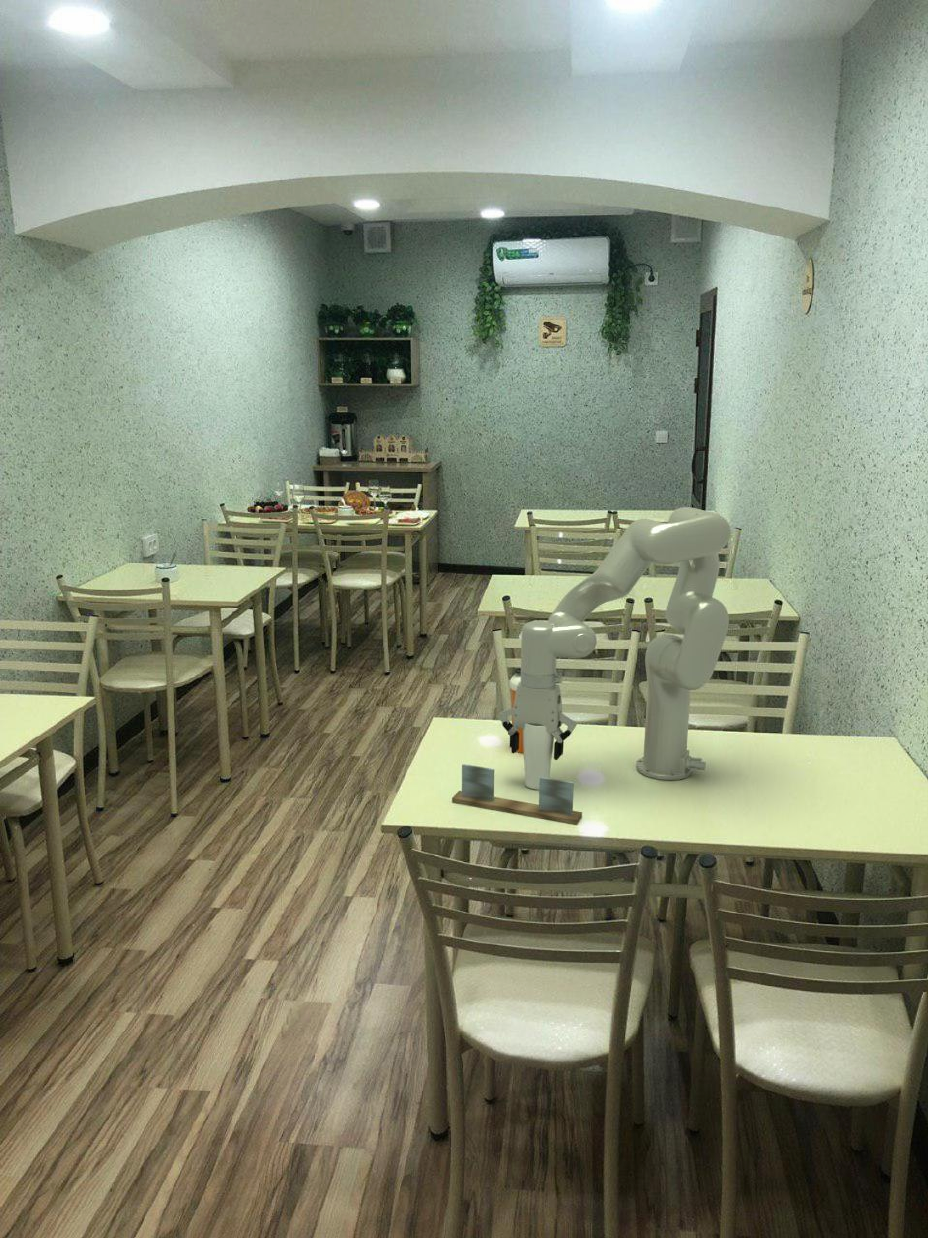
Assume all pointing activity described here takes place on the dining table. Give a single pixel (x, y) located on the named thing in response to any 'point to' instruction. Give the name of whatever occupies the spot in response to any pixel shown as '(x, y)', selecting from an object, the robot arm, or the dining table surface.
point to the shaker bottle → (513, 687)
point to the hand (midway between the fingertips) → (536, 754)
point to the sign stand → (551, 801)
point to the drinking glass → (537, 754)
